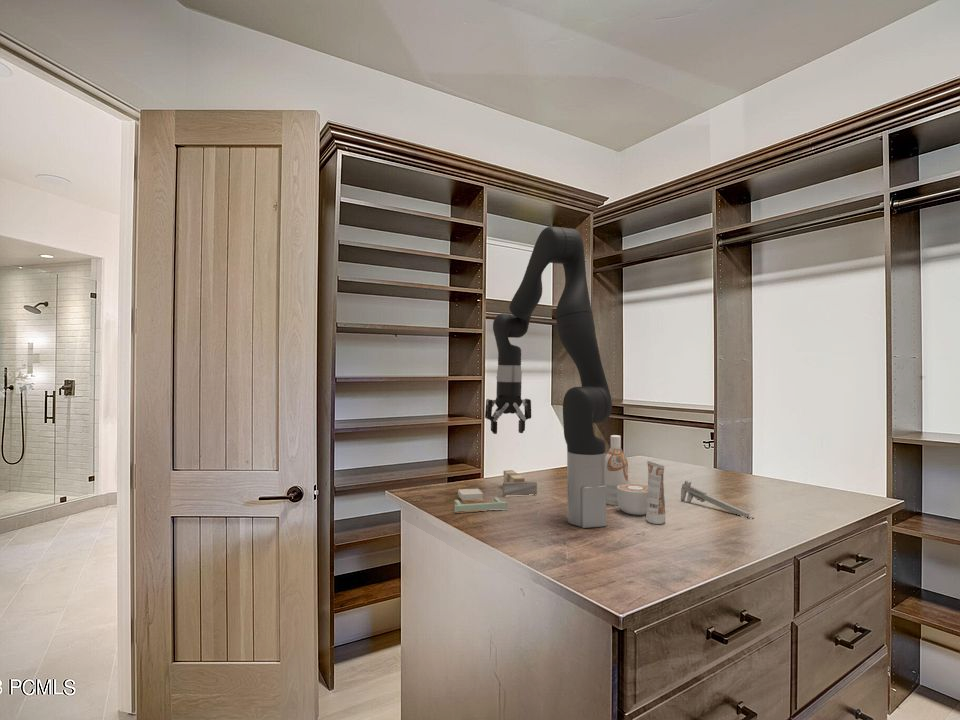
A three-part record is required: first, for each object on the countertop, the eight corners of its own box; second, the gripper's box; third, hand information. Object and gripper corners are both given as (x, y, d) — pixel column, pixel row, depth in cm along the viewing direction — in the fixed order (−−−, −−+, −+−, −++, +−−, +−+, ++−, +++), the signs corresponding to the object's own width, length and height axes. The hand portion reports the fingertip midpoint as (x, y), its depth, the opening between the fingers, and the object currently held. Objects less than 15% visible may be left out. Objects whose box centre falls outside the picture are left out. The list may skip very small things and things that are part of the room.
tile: (483, 502, 147) (483, 493, 147) (462, 503, 146) (462, 494, 146) (478, 496, 153) (478, 488, 153) (458, 498, 152) (458, 489, 152)
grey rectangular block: (536, 495, 153) (536, 478, 153) (504, 497, 151) (504, 480, 151) (523, 485, 166) (523, 469, 166) (492, 487, 164) (492, 471, 164)
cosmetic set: (680, 525, 125) (680, 447, 125) (647, 528, 123) (647, 449, 123) (624, 499, 149) (623, 433, 149) (595, 501, 147) (595, 434, 147)
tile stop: (507, 510, 138) (507, 502, 138) (455, 513, 135) (455, 506, 135) (500, 504, 144) (500, 496, 144) (451, 507, 140) (451, 500, 140)
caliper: (680, 502, 146) (680, 479, 146) (683, 501, 147) (683, 479, 147) (752, 520, 129) (751, 495, 129) (754, 519, 130) (754, 494, 130)
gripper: (491, 381, 152) (489, 436, 152) (535, 380, 156) (534, 434, 157) (482, 379, 159) (481, 432, 159) (525, 379, 164) (524, 430, 164)
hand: (507, 433), depth 158 cm, fingers open, 8 cm apart
